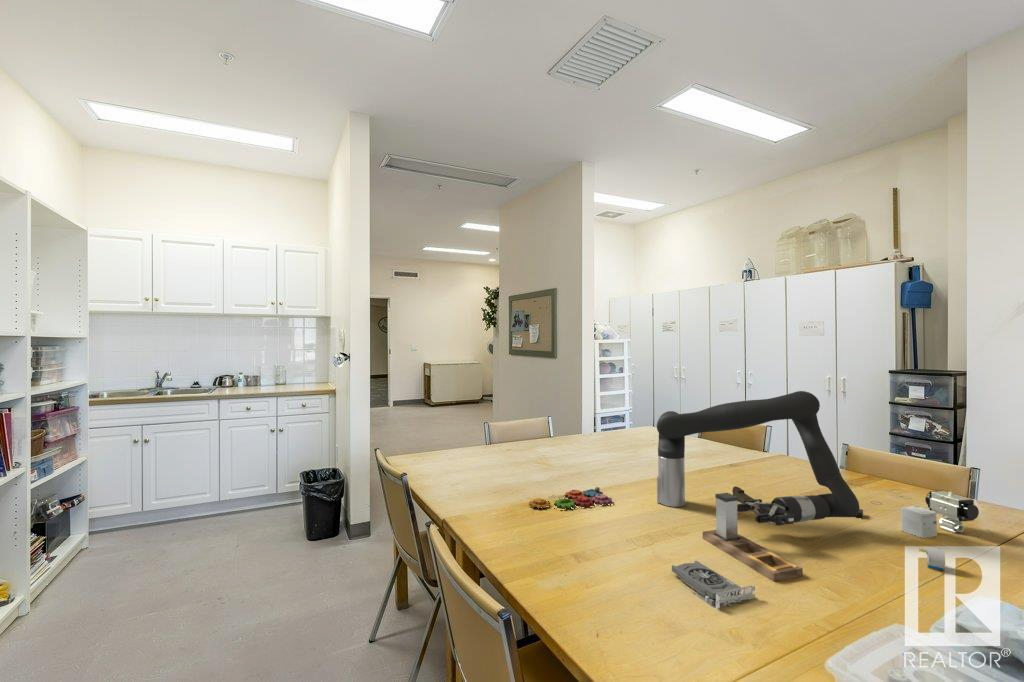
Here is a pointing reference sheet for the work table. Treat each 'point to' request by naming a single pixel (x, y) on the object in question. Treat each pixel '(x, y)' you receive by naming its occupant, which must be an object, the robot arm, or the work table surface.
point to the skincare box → (918, 521)
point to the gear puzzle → (575, 499)
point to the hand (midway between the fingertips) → (746, 513)
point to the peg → (726, 516)
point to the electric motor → (934, 558)
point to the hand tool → (741, 495)
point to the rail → (756, 557)
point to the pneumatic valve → (952, 509)
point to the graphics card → (712, 585)
